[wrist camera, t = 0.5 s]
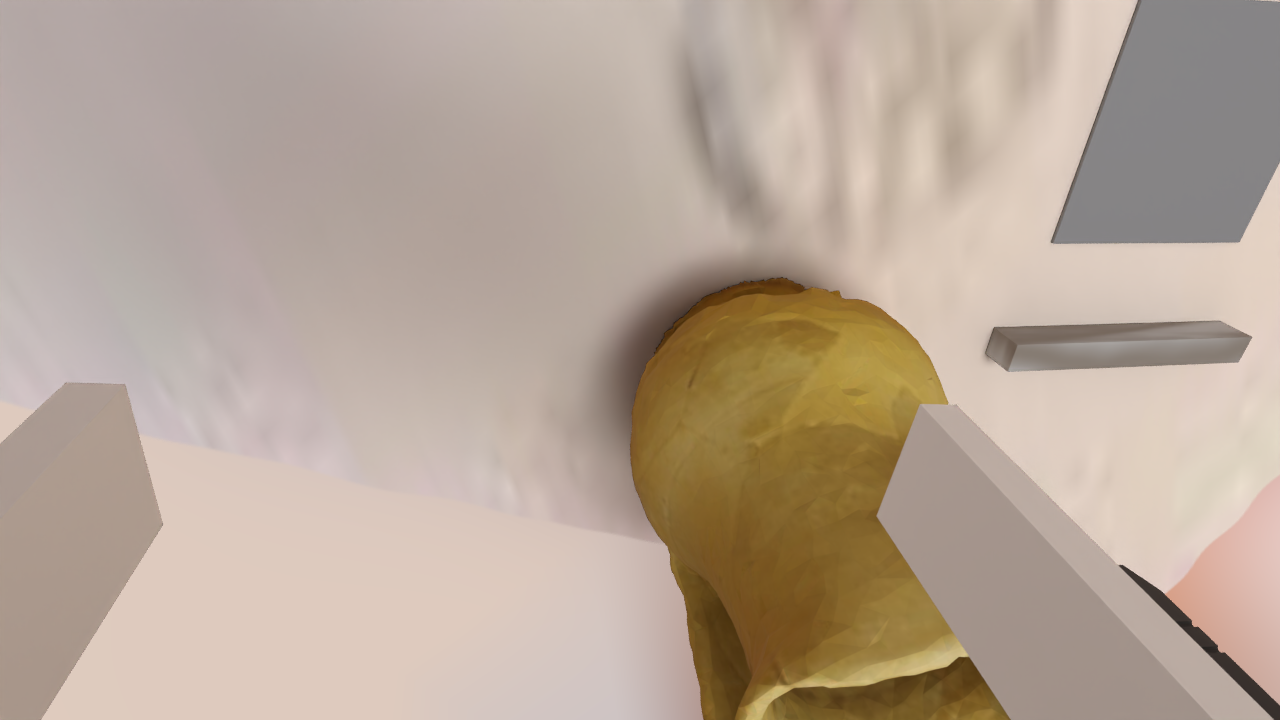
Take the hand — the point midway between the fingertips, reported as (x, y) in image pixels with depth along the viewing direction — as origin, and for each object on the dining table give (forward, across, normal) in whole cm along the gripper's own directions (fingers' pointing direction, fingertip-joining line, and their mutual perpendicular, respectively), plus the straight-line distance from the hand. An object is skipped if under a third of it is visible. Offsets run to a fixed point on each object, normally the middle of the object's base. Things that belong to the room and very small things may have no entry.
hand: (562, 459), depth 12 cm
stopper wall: (+27, +41, -10) cm, 50 cm away
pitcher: (+27, +14, -14) cm, 34 cm away
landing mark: (+27, +40, +4) cm, 48 cm away
